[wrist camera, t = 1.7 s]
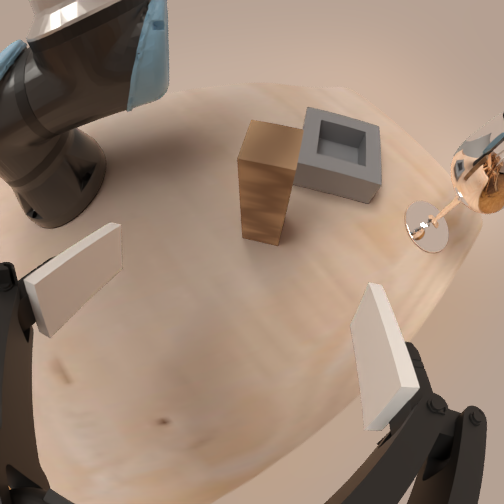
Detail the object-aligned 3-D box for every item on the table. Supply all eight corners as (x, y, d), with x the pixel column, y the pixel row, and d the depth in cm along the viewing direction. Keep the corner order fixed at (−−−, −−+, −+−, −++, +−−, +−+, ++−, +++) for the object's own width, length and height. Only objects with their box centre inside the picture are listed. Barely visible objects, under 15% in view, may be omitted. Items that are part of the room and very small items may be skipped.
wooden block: (242, 237, 32) (237, 158, 18) (250, 207, 33) (251, 119, 20) (277, 245, 31) (295, 170, 18) (284, 214, 33) (303, 129, 19)
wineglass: (435, 266, 31) (548, 189, 12) (393, 224, 32) (488, 117, 14) (455, 228, 32) (546, 149, 14) (417, 190, 34) (495, 92, 15)
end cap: (291, 184, 34) (296, 162, 30) (302, 129, 37) (307, 106, 33) (368, 203, 33) (381, 185, 29) (369, 147, 37) (379, 126, 32)
